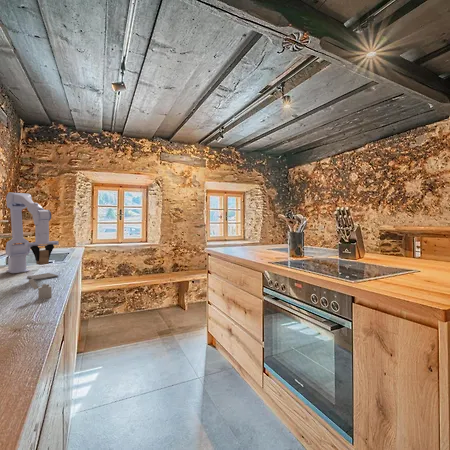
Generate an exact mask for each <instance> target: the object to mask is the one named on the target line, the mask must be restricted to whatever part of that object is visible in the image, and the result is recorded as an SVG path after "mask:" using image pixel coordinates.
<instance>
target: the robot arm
mask: <svg viewBox="0 0 450 450" xmlns="http://www.w3.org/2000/svg"><path fill="white" fill-rule="evenodd" d="M5 200H6V204H5V205H6V208H7V209H10V222H11V223H10V224H11V237H12V238H11V239H9V240H8V241H7V242H6V244H5V254H6V255H7V257H8V259H7V260H8V261H7V264H8V265H7V266H8V270H7V269H6V272H8V273H9V274H10V273H11V274H19V273H26V272H30V269H27V256H28V255H29V254H30V252H32V253H33V255H34V258H35V261H39V250H41V248H40V247H44V248H45V249H44V250H49V259H50V257H51V253H52V252H53V250H54V248H55V246H58V245H59V240H50V221H51V219H52V212H51V211H50V209H44V207H42V206H41V205H40V204H39V203H38V202H34V201H33V198H32V194H30V193H25V192H24V193H23V192H11V191H9V192H8V193H7V194H6V196H5ZM24 209H27V211H28V212H29V213H30V214H31V215H32V220H33V224H34V226H35V227H34V231H35V232H34V235H35V237H34V238H35V241H34V242H29V240H28V239H26V238H24V227H23V213H22V211H23V210H24Z"/></svg>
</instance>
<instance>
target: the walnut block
mask: <svg viewBox="0 0 450 450" xmlns="http://www.w3.org/2000/svg"><path fill="white" fill-rule="evenodd" d="M35 261H36V260H35ZM49 261H50V258H49V250H45V249H40V250H39V261H36V262H35V263H36V265H39V266H43V265H49V263H50V262H49Z"/></svg>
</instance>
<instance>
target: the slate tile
mask: <svg viewBox="0 0 450 450" xmlns="http://www.w3.org/2000/svg"><path fill="white" fill-rule="evenodd" d="M58 277H59V275H58V274H54V273H51V272H47V273H40V274H33V275H28V276H26V278H27V279H28V280H30V279H32V278H33V279H34V280H35V282H37V281H42V280H48V279H54V278H58Z"/></svg>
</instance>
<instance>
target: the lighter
mask: <svg viewBox="0 0 450 450" xmlns="http://www.w3.org/2000/svg"><path fill="white" fill-rule="evenodd" d="M28 283H29V284H30V285H31V286H32V289H33V290H34V291H35V290H37V289H38V292H37V293H38V300H41V299H42V300H43V298H44V299H49V298H50V299H51V298H52V297H53V296H52V295H53V293H52V285H50V284H49V283H43V284H41V286H39V285H38V284H37V281H35V280H34V279H33V278H32V279H28Z"/></svg>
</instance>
